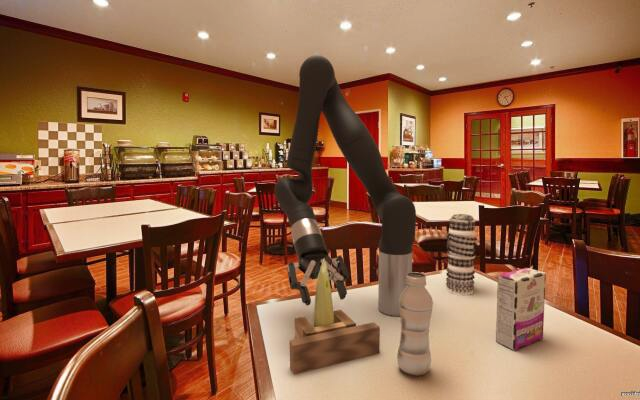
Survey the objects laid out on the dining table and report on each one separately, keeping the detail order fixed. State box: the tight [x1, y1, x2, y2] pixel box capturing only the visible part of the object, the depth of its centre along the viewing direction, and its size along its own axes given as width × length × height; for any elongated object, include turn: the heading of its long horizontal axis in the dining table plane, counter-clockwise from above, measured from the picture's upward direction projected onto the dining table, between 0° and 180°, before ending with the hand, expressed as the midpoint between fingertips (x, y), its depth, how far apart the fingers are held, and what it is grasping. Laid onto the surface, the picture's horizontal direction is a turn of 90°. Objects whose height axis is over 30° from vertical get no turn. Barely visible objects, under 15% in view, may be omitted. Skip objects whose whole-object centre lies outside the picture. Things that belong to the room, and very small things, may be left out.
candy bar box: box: [495, 267, 547, 352], centre depth 80 cm, size 11×5×16 cm, turn 117°
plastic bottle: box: [396, 271, 434, 376], centre depth 69 cm, size 6×7×20 cm
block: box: [294, 309, 357, 339], centre depth 79 cm, size 12×8×6 cm, turn 112°
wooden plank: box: [288, 322, 381, 375], centre depth 73 cm, size 20×2×6 cm, turn 112°
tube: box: [313, 258, 334, 327], centre depth 79 cm, size 6×5×20 cm
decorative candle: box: [445, 213, 478, 296], centre depth 111 cm, size 9×9×25 cm
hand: (326, 301), depth 77 cm, fingers open, 8 cm apart
